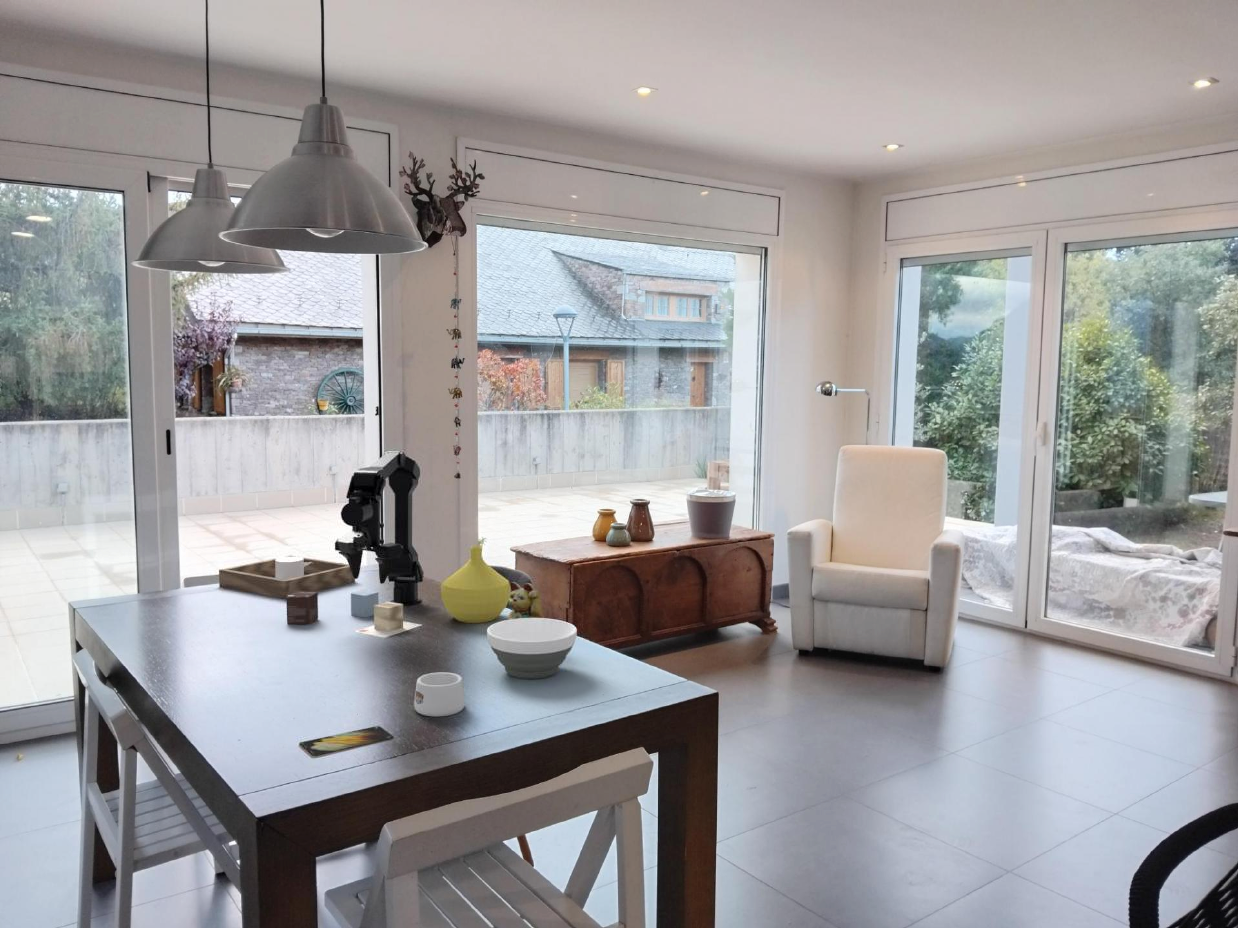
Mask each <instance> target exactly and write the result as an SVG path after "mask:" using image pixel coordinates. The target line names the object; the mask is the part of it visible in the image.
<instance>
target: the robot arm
mask: <svg viewBox="0 0 1238 928" xmlns="http://www.w3.org/2000/svg"><path fill="white" fill-rule="evenodd" d="M420 477H421V469H420V466H419V464H418V463H417V462H416V460H414V459H412V458H410V457H409V456H407V455H406V454H405V452H403V451H399V450H398V451H397V450H387V451H385V452H384V453H383V455H382V456H381V457H379V459H378V460H376V461H375V462H374V463H373V464H372V465H371V466H369V467H362V468H361V467H360V468H358V469H356V470H355V471H354V472H353V474H351V478H350V482H349V485H348V487H347V488H348V489H347V492H346V497H345V498H346V499H348V502H347V503H346V504H344V506H343V507H342V508H341V512H340V518H341V520H342V522H343V523H344V524H346V525H347V526H349V527H351V528H352V529H351V531H350V532H348V533H346V534H345V535H343V536H341V537H340V538H337V539H336V541H335V542H334V551H337V552H338V554H339V555H341V556H343V557H344V558H345V560H346V561H347V564H348V565H349V566H350V569H351V572H352V574H353V577H354V579H355V580H357V579H359V577H360V572H361V566H362V558H363V554H364V553H363V552H364V551H367V552H373V553H375V555H376V557H375V558H374V560H375V561H376V562H377V564H378V579H379V584H381V585H383V584H385V583H386V580H387V579H388V582H391V583H392V582H393V584H394V585H393V599H392V600H390V601H389V602H393V603H399V604H403V606H405V607H406V606H411V605H413V604H418V603H420V602H422V601H423V599H421V598H419V597H418V596H419V592H418V591H419V590H418V589H419V586H418V584H419V583H423V582H424V575H425V574H424V573H425V572H424V570H423V568H422V566H421V563H420V561H419V554H418V552H417V551H416V549H415V548H414V546H413V493H414V492H415V490H416V488H417V487H418V485H419V478H420ZM386 479H387V480H388V486H389V487H390V489H391V490H392V492H393V494H394V542H388V543H385V539H383V538H381V528H384V527H385V523H384V522H381V500H382V498H383V497H382V496H383V492H384V490H385V487H386V483H387V481H386Z"/></svg>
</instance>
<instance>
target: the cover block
mask: <svg viewBox="0 0 1238 928" xmlns="http://www.w3.org/2000/svg"><path fill="white" fill-rule="evenodd" d="M403 621H404V605H403V604H399V603H393V602H390V601H387V602H382V603H379V604H378V605H375V606H374V615H373V622H374V623H373V626H374V629H377V630H382V631H387V632H391V631H394V630H397V629H400V628H403Z"/></svg>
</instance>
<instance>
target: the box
mask: <svg viewBox="0 0 1238 928" xmlns="http://www.w3.org/2000/svg"><path fill="white" fill-rule="evenodd" d="M318 593H319V592H318V591H315V592H301V591H296V592H294V593H292V594H290V595H288V596H287V597H286V599H285V600H286V601H285V602H286V624H287V625H309V626H310V625H311V624H312V623H314V622H315V621H317V620H319V604H318V603H319V598H318Z"/></svg>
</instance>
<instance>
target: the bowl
mask: <svg viewBox="0 0 1238 928" xmlns="http://www.w3.org/2000/svg"><path fill="white" fill-rule="evenodd" d="M577 635H578V629H577V627H576V626H575V625H574V624H572V623H569V622H567V621H564V620H560V619H553V618H547V617H546V618H545V617H542V618H519V619H510V620H501V621H497V622H495V623H493V624H491V625H489V626H488V628H487V629H486V637H487V641H488V645H489V646H490V648H491V650H492V652H494V654H495V655H496V657H497V660H498V661H499V663H500V664H501V665H502V666H504V670H505V672H506V674H508V675H509V676H512V677H514V678H517V679H521V680H522V679H523V680H539V679H545V678H549V677H551V676H553V675H555V674H556V673H557V672H558V670H559V667H560V665H562V664H563V662H565V660H566V658H567V656H568V654H569V653H570V652H571V651H572V648H573V647H574V645H575V643H576V639H577Z"/></svg>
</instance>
